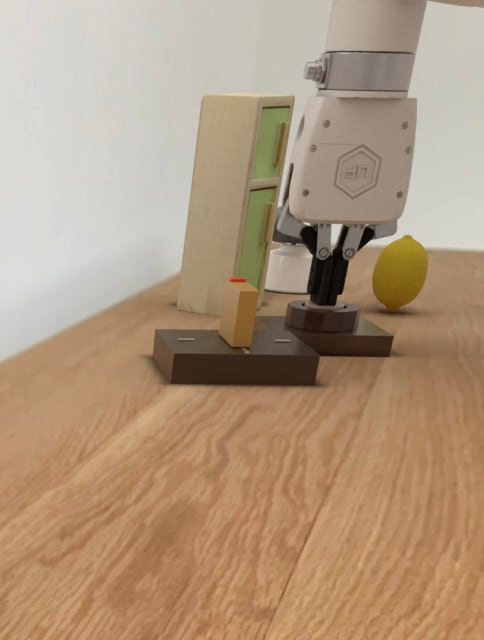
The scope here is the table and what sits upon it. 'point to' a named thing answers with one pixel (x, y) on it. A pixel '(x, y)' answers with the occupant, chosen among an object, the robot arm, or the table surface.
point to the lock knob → (238, 312)
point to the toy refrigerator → (233, 195)
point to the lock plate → (234, 358)
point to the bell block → (331, 330)
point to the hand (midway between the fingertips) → (322, 302)
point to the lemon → (400, 273)
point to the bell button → (325, 307)
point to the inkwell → (288, 263)
